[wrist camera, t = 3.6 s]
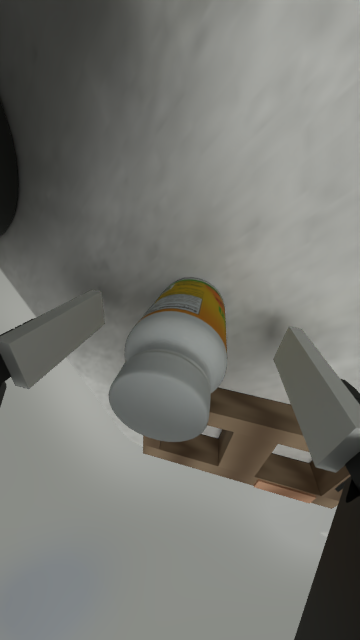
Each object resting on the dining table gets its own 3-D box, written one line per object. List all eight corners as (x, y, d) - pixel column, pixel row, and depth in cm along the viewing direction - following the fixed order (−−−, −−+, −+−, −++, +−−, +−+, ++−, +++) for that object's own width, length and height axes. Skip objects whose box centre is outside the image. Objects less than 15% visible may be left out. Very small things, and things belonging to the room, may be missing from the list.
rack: (151, 429, 25) (142, 454, 22) (154, 372, 20) (143, 397, 17) (319, 475, 22) (332, 511, 20) (375, 425, 17) (405, 463, 14)
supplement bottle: (222, 337, 16) (224, 463, 8) (164, 333, 17) (108, 440, 9) (227, 276, 13) (238, 365, 5) (158, 276, 14) (71, 348, 6)
